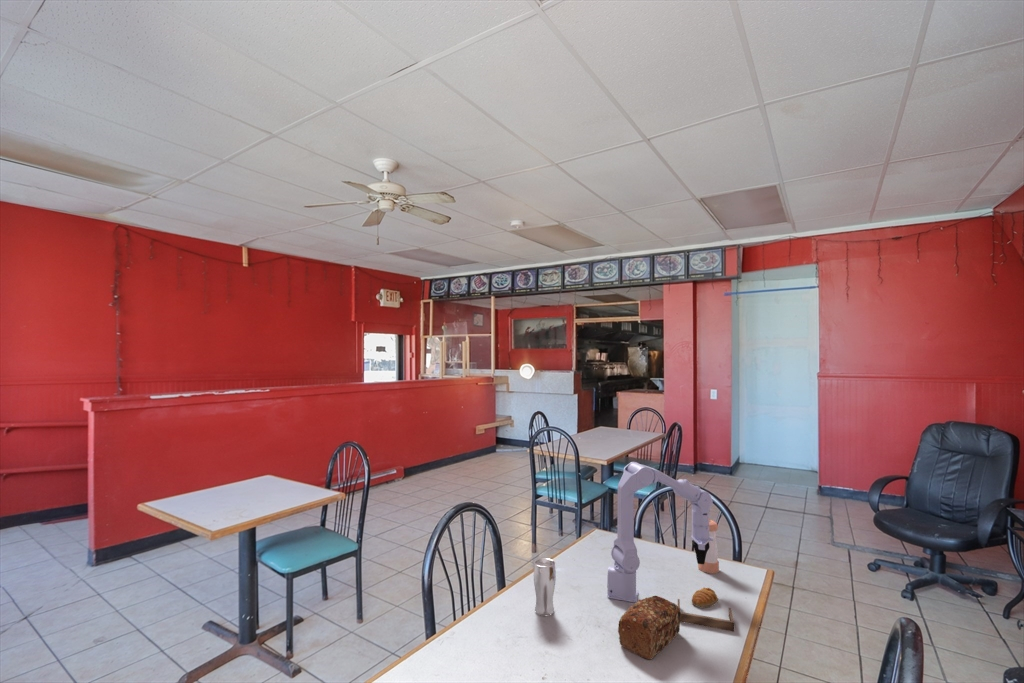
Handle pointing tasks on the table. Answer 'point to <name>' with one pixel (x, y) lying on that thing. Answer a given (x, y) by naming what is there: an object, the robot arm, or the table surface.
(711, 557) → the pepper shaker
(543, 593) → the beer glass
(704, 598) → the pastry
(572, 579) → the table surface
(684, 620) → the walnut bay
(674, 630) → the bread
